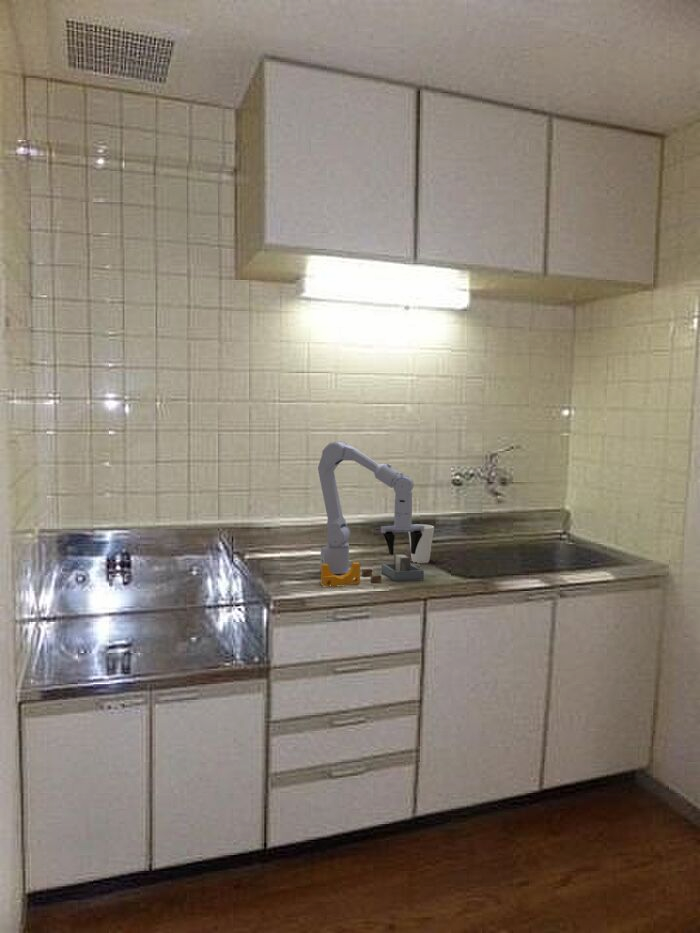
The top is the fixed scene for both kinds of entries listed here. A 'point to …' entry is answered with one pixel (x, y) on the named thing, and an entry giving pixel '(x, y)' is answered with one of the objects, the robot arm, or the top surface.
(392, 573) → the parts tray
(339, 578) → the pipe clamp
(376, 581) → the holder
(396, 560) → the grey block
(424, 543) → the foam cup
